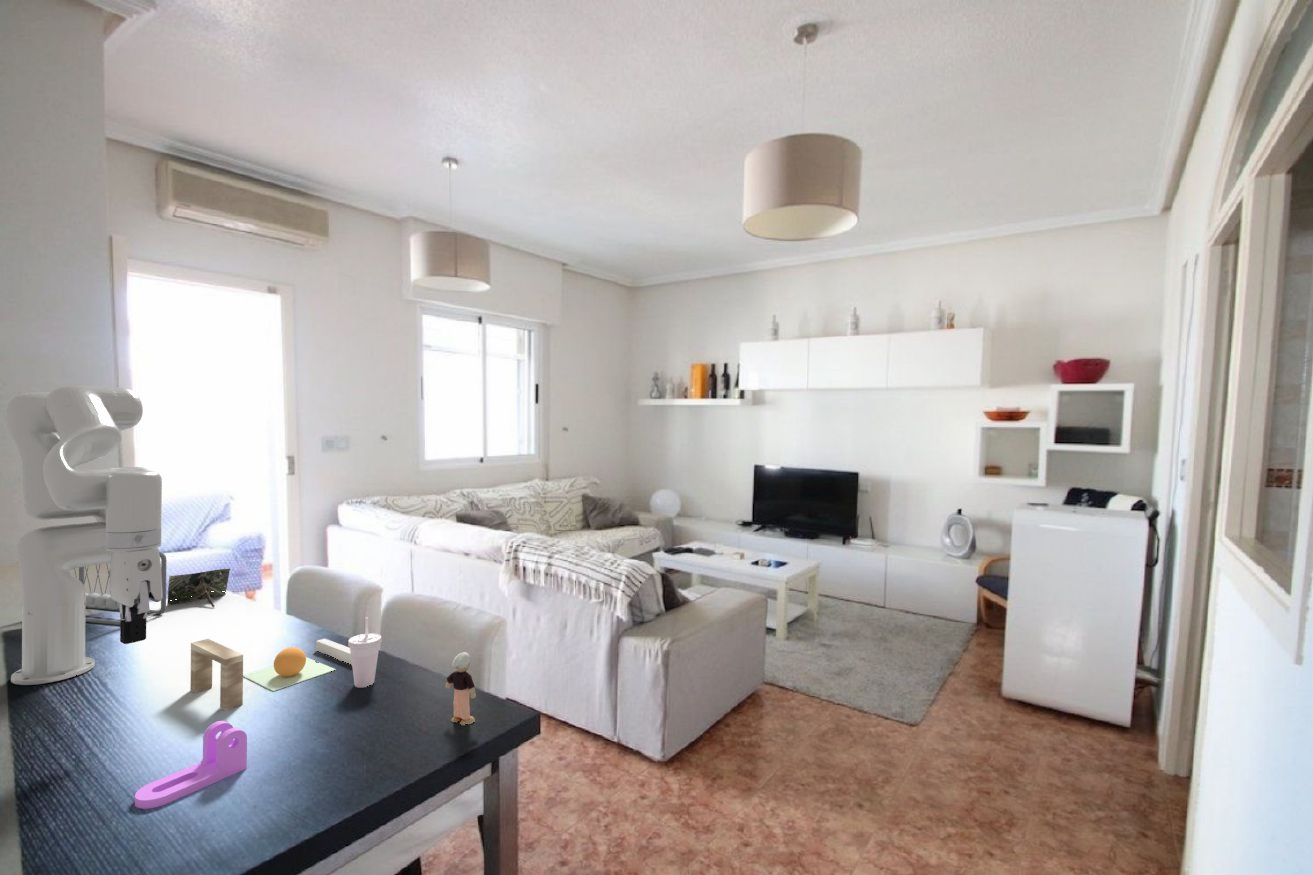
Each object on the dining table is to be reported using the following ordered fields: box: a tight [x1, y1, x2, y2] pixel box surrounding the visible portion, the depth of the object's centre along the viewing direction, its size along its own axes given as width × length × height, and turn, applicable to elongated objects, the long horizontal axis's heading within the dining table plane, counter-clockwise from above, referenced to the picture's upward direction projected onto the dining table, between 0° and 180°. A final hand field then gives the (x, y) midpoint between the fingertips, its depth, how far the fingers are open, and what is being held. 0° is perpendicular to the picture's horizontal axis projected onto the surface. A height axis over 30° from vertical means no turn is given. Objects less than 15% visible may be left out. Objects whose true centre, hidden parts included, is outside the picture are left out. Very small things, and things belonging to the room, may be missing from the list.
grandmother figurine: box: [444, 651, 477, 726], centre depth 111 cm, size 8×4×13 cm, turn 71°
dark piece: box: [166, 568, 231, 608], centre depth 176 cm, size 15×10×13 cm
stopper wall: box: [315, 638, 352, 666], centre depth 139 cm, size 16×2×2 cm, turn 58°
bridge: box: [189, 638, 244, 711], centre depth 118 cm, size 3×15×10 cm, turn 58°
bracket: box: [134, 720, 248, 810], centre depth 90 cm, size 13×6×7 cm, turn 150°
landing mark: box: [243, 656, 337, 692], centre depth 130 cm, size 13×13×1 cm
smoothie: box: [347, 616, 382, 689], centre depth 126 cm, size 6×6×14 cm
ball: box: [273, 646, 307, 677], centre depth 129 cm, size 6×6×6 cm
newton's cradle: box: [73, 551, 167, 626], centre depth 164 cm, size 30×10×18 cm, turn 79°
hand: (133, 640), depth 107 cm, fingers closed
